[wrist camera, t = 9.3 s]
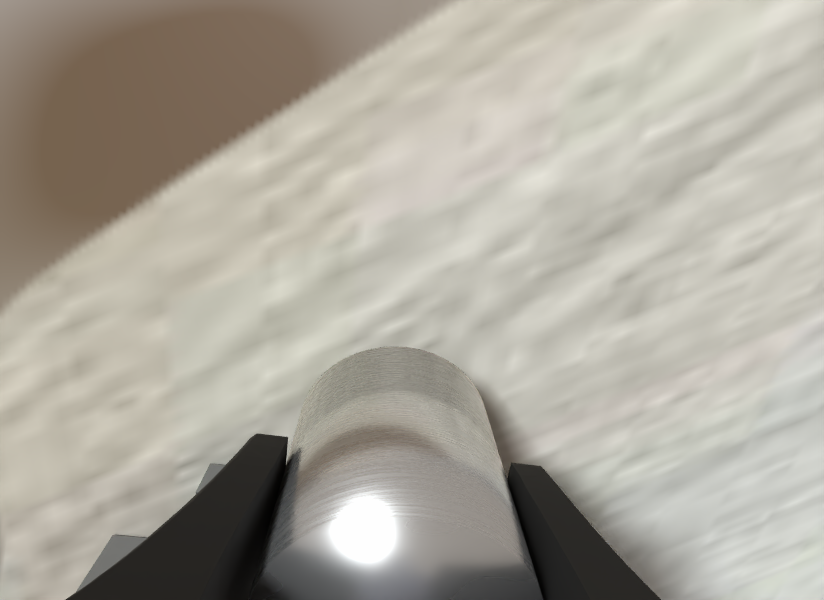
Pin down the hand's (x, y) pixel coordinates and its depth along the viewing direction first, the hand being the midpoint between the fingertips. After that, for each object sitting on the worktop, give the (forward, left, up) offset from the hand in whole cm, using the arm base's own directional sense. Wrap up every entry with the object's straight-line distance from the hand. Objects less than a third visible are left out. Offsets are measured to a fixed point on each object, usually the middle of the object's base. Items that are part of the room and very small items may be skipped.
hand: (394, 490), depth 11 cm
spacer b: (0, 0, -2) cm, 2 cm away
